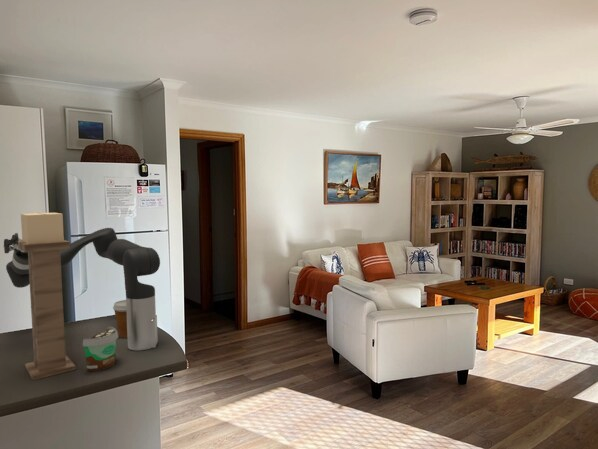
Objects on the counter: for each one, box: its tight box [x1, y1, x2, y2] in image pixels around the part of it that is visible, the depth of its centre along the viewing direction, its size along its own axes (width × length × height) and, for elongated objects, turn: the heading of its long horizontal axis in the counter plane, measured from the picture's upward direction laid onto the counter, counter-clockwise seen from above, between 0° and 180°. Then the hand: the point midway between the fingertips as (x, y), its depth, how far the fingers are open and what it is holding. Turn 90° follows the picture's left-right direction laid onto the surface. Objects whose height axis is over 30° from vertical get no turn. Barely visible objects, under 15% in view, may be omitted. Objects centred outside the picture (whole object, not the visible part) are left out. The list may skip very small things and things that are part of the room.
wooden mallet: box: [20, 212, 65, 244], centre depth 133 cm, size 22×9×8 cm, turn 41°
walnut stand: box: [18, 239, 77, 381], centre depth 130 cm, size 12×11×38 cm
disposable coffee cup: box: [112, 299, 128, 339], centre depth 160 cm, size 10×10×12 cm
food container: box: [82, 326, 119, 372], centre depth 133 cm, size 12×6×10 cm, turn 168°
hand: (32, 234), depth 140 cm, fingers open, 8 cm apart
